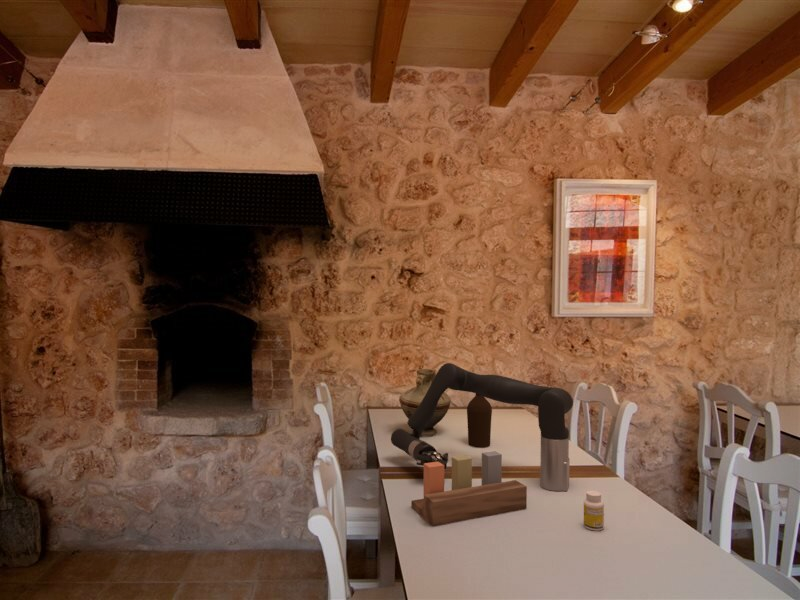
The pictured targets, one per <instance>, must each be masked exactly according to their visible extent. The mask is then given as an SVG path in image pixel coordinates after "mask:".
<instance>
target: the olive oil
mask: <svg viewBox="0 0 800 600" xmlns="http://www.w3.org/2000/svg"><path fill="white" fill-rule="evenodd" d="M492 413H493V409H492V405H491V403H490V402H489V401H488V399H487V398H486V397H483V396H481V395H479V394H476V393H475V395H474V397H473V398H472V399H471V400H470V401H469V402H468V403H467V407H466V418H467V419H466V420H467V445H468V446H469V447H472V448H476V449H477V448H479V449H480V448H482V449H483V448H488V447H490V446H491V433H492V432H491V431H492V415H493V414H492Z"/></svg>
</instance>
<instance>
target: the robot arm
mask: <svg viewBox="0 0 800 600" xmlns="http://www.w3.org/2000/svg"><path fill="white" fill-rule="evenodd" d="M448 389H450V390H453V391H460V392H465V393H466V392H467V393H473V394H475V395H476V394H479V395H481V396H483V397H485V398H486V399H488V400H493V401H496V402H500V403H504V404H509V405H529V406H534V407H537V414H538V428H539V431H540V464H539V466H540V472H539V473H540V478H539V479H540V480H539V481H540V484H539V485H540V487H541V488H543V489H545V490H548V491H551V492H552V491H553V492H561V491H563V492H568V489H569V487H570V457H569V454H570V453H569V450H570V447H569V446H570V445H569V444H570V441H569V439H570V433H569V432H570V431H569V430H570V429H568V427H566V419H565V416H566V414H567V413H569V412H570V411H571V410H572V408H573V405H574V400H573V397H572V395H571V394H570V393H569V392H568V391H566V389H563V388H560V387H551V386H544V385H537V384H532V383H529V382H526V381H523V380H518V379H515V378H511V377H507V376H503V375H499V374H479V373H474V372H472V371H469V370H466V369H465V368H462V367H461V366H458V365H456V364H453V363H451V362H446V363H444V364H443V365H441V366H440V368H439V369H438V370H437V373H436V376H435V378H434V380H433V382H432V384H431V385H430V387H429V389H428V391H427V393H426V395H425V397H424V398H423V400H422V402H421V403H420V405H419V406H418V407H417V409H416V410H415V411H414V413H413V414H412V415H411V417H410V418H409V419H407V425H408V427H409V428H410V429H411V430H412V432H411V433H410V432H408V431H406V430H405V429H403V428H397V429H395V430H393V431H392V433H391V436H390V441H391V444H392V445H393V446H394V447H395V448H398V449H400V450H402V451H403V452H404V453H406V454H407V455H408V456H410V457H411V458H412V459H413V460H414V461H415V463H416V465H417V466H422V467H424V463H431V462H440V463H441V464H443V465H444V470H446V469H447V463H448V462H449V453H448V452H445V453H443V454H441V453H440V452H438V451H437V450H436V448H435V447H434V446H433V445H432V444H430V443H428V442H426V441H424V440H422V439H420V438H421V437H422V436H421V434H422V432H423V430H424V428H425V427H426V426H427V424H428V423H429V422H430V420H431V419H432V417H433V415H434V413H435V410H436V407H437V404H438V401H439V399H440V397H441V395H442V394H443V393H444V392H445V393H446V391H447V390H448Z"/></svg>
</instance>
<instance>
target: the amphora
mask: <svg viewBox="0 0 800 600" xmlns="http://www.w3.org/2000/svg"><path fill="white" fill-rule="evenodd" d="M436 374H437V373H436V370H433V369H430V368H422V369H421V368H420V369H418V370H417V371H416V378H415V385H416V386H413V387H410V388H409V389H406V390H404V391H403V392H402V393H401V394H400V396H399V397H398V398H399V399H398V400H399V404H400V408H401V410H402V412H403V414H404V415H405V416H406V418H407V420H409V418H410V417H411V415H412V414H413V413H414V411H415V410H416V409H417V407H418V406H419V405H420V403H421V402H422V400H423V398H424V397H425V395H426V393H427V391H428V389H429V387H430V385H431V384H432V382H433V380H434V378H435V376H436ZM450 405H451V397H450V396H449V394H448V393H446V391H445V392H444V393H443V394H442V395H441V397H440V399H439V401H438V404H437V407H436V410H435V413H434V415H433V417H432V419H431V420H430V422H429V423H428V424H427V426H426V427H425V428H424V430H423V432H422V434H421V436H420V437H423V436H428V437H434V436H436V434H437V430H436V428H435V426H436V425H438V423H440V422H441V421H442V420H443V419H444V418H445V416H446V415H447V413H448V411H449V408H450ZM433 435H434V436H433Z"/></svg>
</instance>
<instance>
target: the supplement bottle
mask: <svg viewBox="0 0 800 600" xmlns="http://www.w3.org/2000/svg"><path fill="white" fill-rule="evenodd" d="M585 495H586V496H585V497H586V498H585V499H584V500H583V526H584V528H585V529H588V530H590V531H603V530H604V528H605V507H604V506H605V504H604V501H603V500H602V493H601V492H600V491H597V490H587V491H586V494H585Z"/></svg>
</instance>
